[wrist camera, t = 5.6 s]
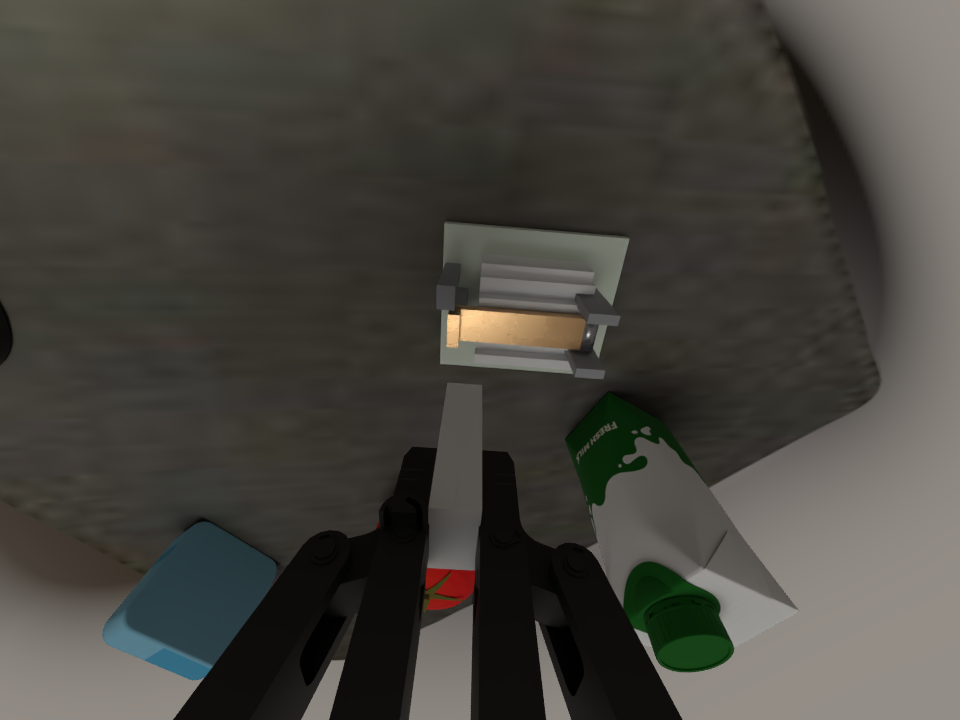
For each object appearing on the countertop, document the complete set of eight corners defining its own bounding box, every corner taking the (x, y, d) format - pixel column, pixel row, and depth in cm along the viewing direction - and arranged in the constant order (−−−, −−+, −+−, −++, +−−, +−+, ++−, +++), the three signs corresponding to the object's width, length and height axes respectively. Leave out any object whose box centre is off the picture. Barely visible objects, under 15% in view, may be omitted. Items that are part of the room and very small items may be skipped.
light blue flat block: (181, 530, 46) (91, 639, 36) (201, 515, 45) (113, 624, 34) (262, 576, 51) (202, 686, 40) (282, 563, 49) (226, 673, 39)
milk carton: (606, 379, 35) (728, 601, 17) (677, 419, 37) (850, 653, 19) (552, 441, 39) (607, 676, 21) (619, 474, 41) (721, 713, 23)
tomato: (497, 531, 45) (500, 625, 36) (403, 545, 47) (383, 639, 38) (474, 464, 40) (471, 554, 31) (370, 482, 42) (337, 573, 33)
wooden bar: (449, 336, 28) (446, 349, 26) (450, 300, 26) (447, 311, 24) (589, 347, 28) (597, 361, 26) (598, 312, 27) (607, 324, 25)
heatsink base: (441, 358, 34) (429, 409, 27) (445, 221, 29) (432, 240, 22) (591, 369, 35) (618, 423, 27) (625, 236, 29) (670, 260, 22)
